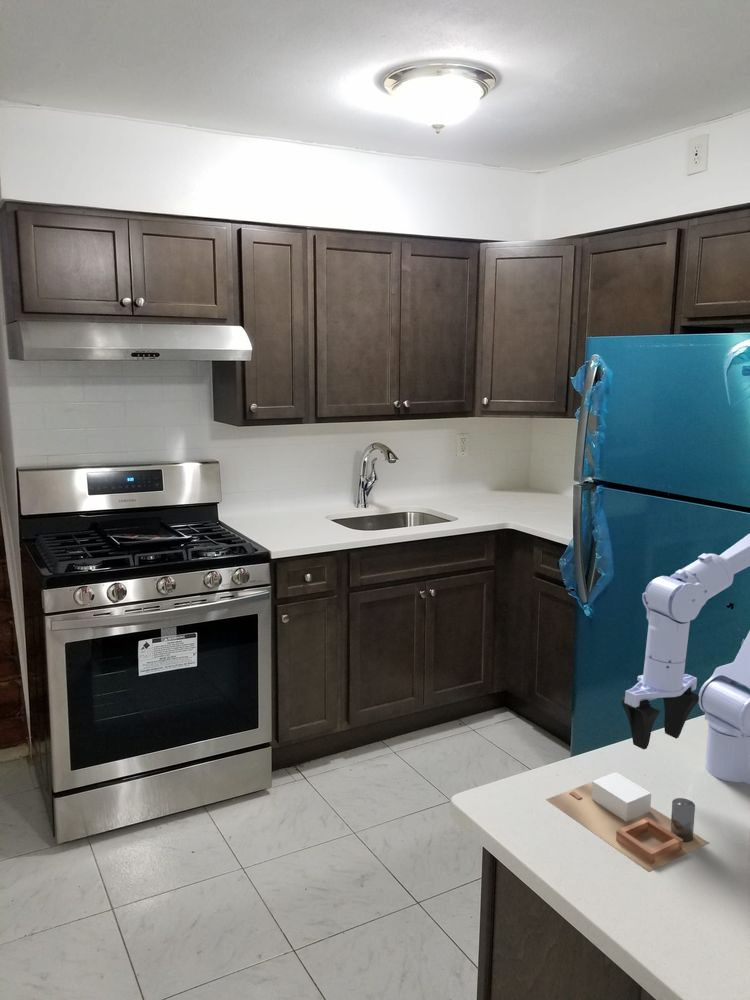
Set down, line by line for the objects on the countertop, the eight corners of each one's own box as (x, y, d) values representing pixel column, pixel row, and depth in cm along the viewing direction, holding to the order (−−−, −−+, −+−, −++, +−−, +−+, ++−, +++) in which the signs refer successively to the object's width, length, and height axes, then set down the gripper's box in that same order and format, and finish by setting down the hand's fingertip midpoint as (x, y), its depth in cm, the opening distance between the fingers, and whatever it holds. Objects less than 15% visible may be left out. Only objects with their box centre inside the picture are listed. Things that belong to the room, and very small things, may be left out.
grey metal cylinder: (680, 827, 115) (682, 795, 114) (697, 838, 112) (699, 805, 111) (665, 833, 113) (667, 802, 112) (683, 845, 111) (685, 812, 110)
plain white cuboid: (615, 789, 125) (615, 772, 124) (650, 811, 119) (651, 793, 118) (591, 798, 122) (592, 781, 122) (626, 821, 116) (627, 803, 116)
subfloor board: (602, 783, 128) (603, 769, 128) (708, 849, 111) (709, 832, 111) (545, 805, 122) (546, 790, 122) (648, 878, 105) (649, 861, 105)
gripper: (673, 641, 127) (664, 721, 129) (612, 655, 119) (603, 740, 121) (712, 655, 121) (702, 738, 124) (651, 671, 113) (641, 760, 116)
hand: (656, 740), depth 122 cm, fingers open, 7 cm apart
